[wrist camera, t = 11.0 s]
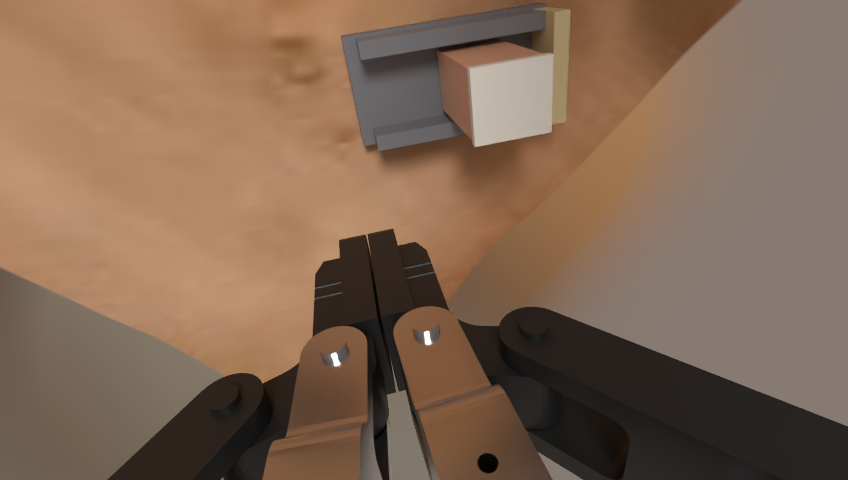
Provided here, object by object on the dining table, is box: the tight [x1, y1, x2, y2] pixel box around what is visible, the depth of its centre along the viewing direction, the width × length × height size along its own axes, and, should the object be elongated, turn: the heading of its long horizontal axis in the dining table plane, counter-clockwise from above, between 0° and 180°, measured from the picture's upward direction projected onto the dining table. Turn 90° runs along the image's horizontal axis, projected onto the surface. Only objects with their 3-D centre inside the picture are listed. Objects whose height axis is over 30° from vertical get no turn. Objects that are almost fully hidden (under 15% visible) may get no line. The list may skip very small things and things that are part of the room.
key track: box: [341, 3, 571, 151], centre depth 34 cm, size 16×8×6 cm, turn 98°
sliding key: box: [437, 39, 554, 147], centre depth 31 cm, size 5×5×10 cm
